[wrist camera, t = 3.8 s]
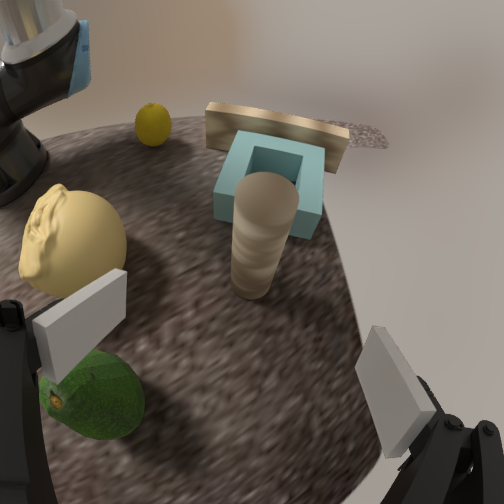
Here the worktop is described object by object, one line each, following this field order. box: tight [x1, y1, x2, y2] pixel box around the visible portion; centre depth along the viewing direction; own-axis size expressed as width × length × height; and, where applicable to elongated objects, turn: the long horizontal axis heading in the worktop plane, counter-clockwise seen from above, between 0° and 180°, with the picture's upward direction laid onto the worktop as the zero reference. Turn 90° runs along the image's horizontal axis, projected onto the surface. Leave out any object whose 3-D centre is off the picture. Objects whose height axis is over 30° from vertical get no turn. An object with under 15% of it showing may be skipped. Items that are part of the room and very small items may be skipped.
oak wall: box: [205, 102, 349, 174], centre depth 39 cm, size 20×2×7 cm, turn 79°
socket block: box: [213, 130, 325, 240], centre depth 36 cm, size 12×12×5 cm
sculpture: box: [19, 184, 127, 299], centre depth 26 cm, size 12×12×11 cm
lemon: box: [135, 103, 172, 146], centre depth 38 cm, size 6×6×8 cm
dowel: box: [230, 172, 299, 300], centre depth 25 cm, size 4×4×14 cm
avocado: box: [40, 349, 145, 440], centre depth 18 cm, size 8×8×12 cm
